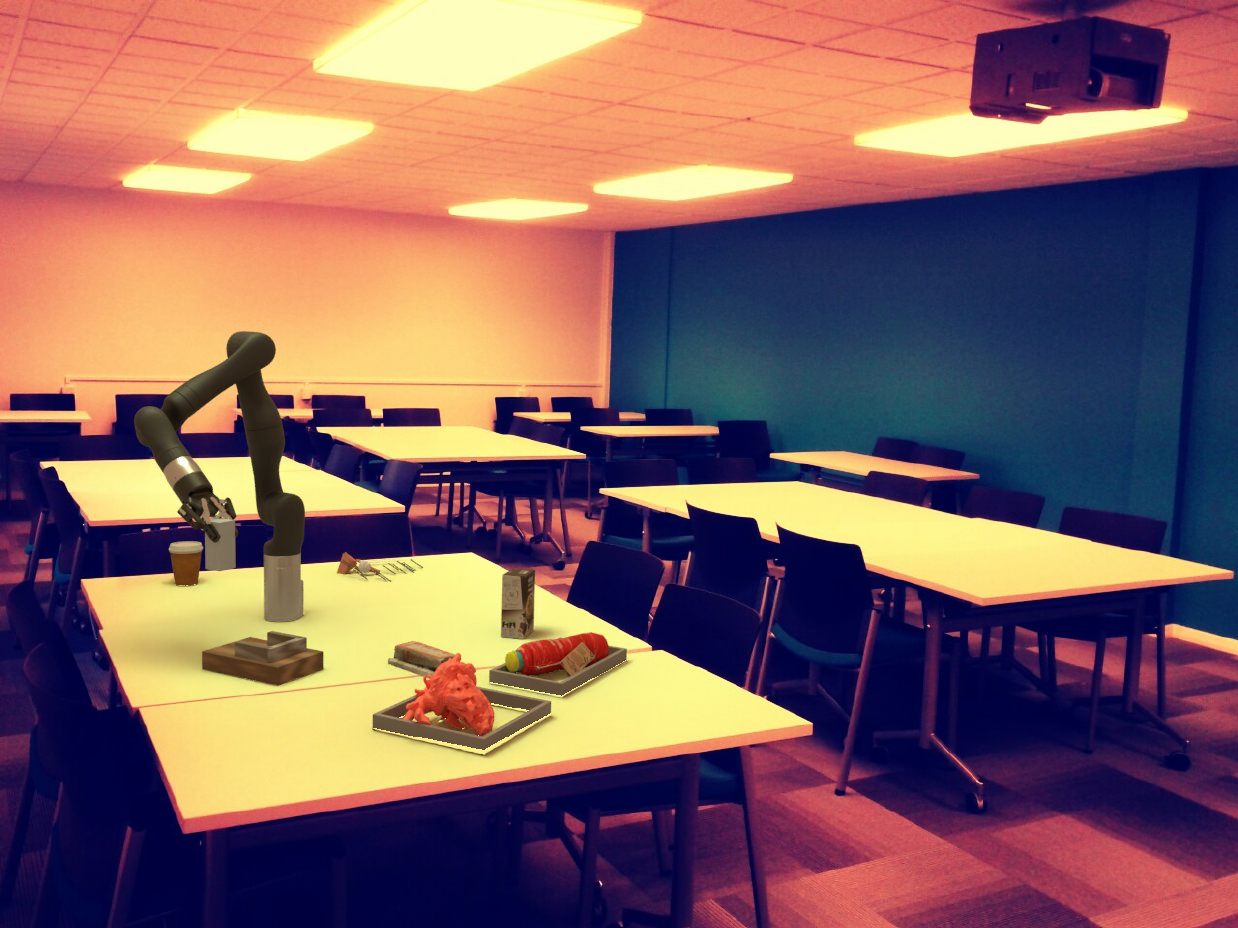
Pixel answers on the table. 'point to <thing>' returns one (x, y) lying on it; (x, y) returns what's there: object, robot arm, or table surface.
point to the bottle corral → (554, 687)
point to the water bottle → (558, 654)
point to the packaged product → (419, 658)
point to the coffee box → (517, 603)
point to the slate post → (221, 546)
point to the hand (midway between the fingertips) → (226, 538)
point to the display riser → (265, 658)
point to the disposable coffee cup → (186, 561)
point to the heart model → (453, 698)
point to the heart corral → (393, 723)
